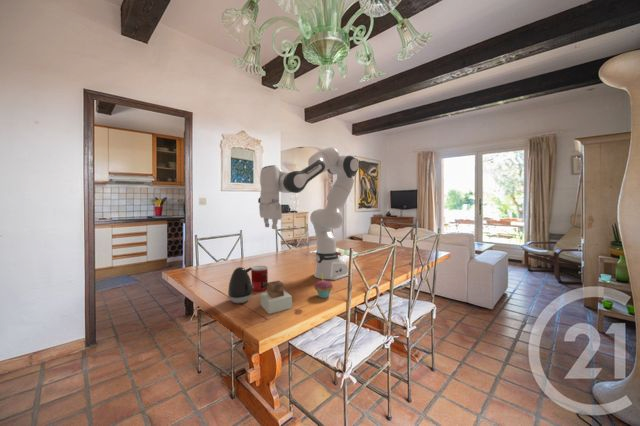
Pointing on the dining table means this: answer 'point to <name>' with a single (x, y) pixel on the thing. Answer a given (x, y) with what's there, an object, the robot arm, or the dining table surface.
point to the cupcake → (323, 287)
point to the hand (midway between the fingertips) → (270, 228)
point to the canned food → (259, 278)
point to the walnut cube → (275, 289)
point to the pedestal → (276, 302)
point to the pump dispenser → (240, 286)
